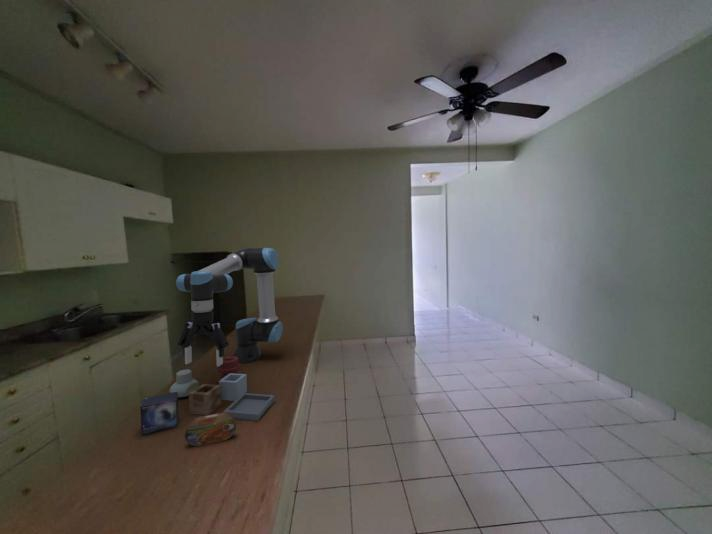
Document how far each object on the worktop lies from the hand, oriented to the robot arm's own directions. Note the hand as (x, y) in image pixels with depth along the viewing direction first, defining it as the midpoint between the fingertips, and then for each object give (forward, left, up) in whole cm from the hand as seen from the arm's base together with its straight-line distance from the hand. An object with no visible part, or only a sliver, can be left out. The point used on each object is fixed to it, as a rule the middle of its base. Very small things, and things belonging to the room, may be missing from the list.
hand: (204, 364), depth 110 cm
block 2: (-11, +5, -18) cm, 22 cm away
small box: (+13, -8, -18) cm, 24 cm away
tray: (-2, +18, -18) cm, 26 cm away
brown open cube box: (0, 0, -18) cm, 18 cm away
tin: (+17, +15, -18) cm, 29 cm away
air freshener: (-9, -17, -18) cm, 27 cm away
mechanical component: (-22, -4, -18) cm, 29 cm away
